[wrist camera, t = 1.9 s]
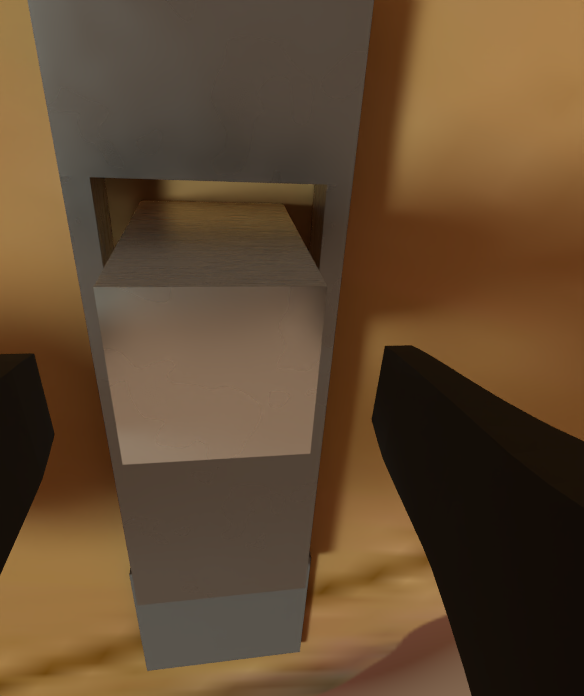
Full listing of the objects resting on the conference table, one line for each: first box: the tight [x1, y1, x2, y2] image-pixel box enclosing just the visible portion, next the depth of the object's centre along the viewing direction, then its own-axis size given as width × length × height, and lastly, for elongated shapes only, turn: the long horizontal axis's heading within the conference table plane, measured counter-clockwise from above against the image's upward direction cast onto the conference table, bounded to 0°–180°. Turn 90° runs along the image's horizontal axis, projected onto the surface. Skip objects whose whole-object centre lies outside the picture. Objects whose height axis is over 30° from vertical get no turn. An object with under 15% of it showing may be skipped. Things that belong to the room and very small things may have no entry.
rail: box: [28, 0, 374, 605], centre depth 17 cm, size 8×24×2 cm, turn 177°
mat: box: [129, 550, 311, 671], centre depth 26 cm, size 9×9×1 cm
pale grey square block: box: [93, 200, 327, 465], centre depth 13 cm, size 4×4×7 cm
